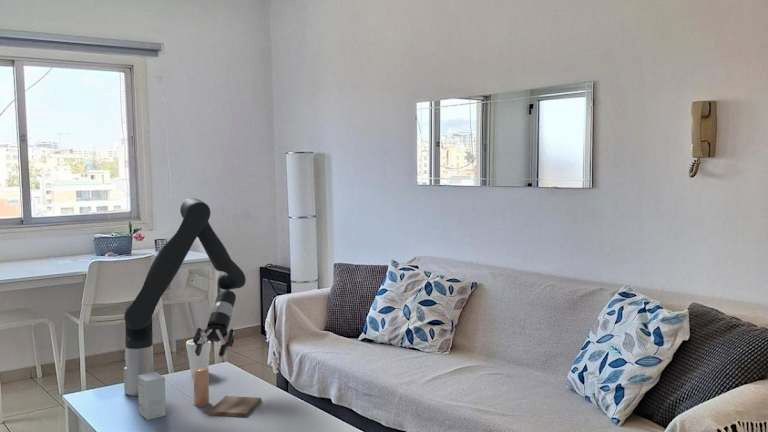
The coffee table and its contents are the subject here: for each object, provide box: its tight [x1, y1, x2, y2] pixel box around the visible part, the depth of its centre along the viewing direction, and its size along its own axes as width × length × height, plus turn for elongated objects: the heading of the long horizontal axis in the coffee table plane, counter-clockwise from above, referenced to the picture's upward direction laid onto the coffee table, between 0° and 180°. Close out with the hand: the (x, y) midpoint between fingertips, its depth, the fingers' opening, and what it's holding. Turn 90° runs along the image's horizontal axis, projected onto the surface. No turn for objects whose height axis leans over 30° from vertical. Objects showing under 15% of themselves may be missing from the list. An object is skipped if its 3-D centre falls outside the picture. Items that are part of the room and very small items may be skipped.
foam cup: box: [185, 337, 212, 377], centre depth 265 cm, size 10×9×13 cm
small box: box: [137, 371, 167, 420], centre depth 221 cm, size 8×6×13 cm
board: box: [207, 395, 262, 418], centre depth 228 cm, size 13×15×1 cm
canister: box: [193, 367, 210, 407], centre depth 231 cm, size 5×5×12 cm
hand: (209, 355), depth 237 cm, fingers open, 8 cm apart
